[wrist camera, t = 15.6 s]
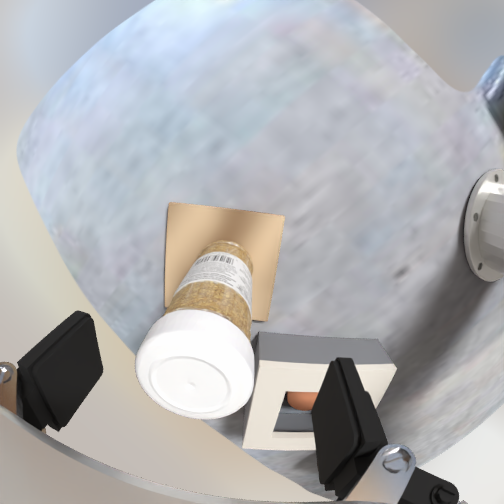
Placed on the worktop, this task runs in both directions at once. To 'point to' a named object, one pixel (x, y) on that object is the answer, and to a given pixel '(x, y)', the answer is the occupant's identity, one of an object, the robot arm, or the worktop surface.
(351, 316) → the worktop surface
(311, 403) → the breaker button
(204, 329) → the sprinkles bottle
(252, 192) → the worktop surface
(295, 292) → the worktop surface
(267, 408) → the grey square open box
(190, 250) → the coaster
